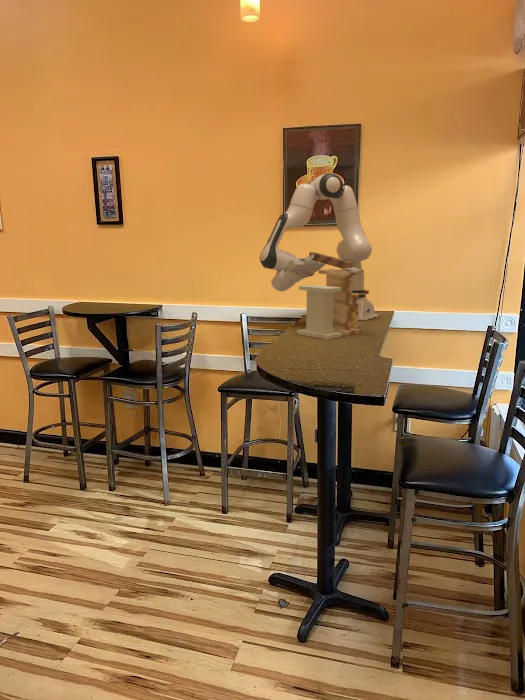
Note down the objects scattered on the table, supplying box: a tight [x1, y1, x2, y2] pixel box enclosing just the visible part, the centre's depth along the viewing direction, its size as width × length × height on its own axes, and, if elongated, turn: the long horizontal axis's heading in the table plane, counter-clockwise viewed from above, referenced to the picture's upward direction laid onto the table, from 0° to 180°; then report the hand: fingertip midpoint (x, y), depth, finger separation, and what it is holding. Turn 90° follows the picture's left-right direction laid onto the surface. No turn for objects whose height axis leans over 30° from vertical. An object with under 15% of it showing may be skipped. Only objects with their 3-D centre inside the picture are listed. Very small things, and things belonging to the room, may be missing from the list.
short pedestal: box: [296, 284, 343, 340], centre depth 218 cm, size 9×17×20 cm, turn 42°
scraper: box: [308, 251, 365, 273], centre depth 224 cm, size 27×6×3 cm, turn 42°
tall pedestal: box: [318, 268, 362, 336], centre depth 225 cm, size 9×17×26 cm, turn 42°
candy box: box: [351, 293, 359, 329], centre depth 236 cm, size 9×4×15 cm, turn 63°
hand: (317, 255), depth 230 cm, fingers closed on scraper, 3 cm apart
